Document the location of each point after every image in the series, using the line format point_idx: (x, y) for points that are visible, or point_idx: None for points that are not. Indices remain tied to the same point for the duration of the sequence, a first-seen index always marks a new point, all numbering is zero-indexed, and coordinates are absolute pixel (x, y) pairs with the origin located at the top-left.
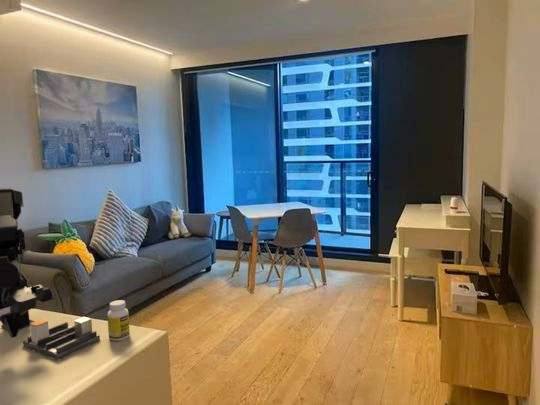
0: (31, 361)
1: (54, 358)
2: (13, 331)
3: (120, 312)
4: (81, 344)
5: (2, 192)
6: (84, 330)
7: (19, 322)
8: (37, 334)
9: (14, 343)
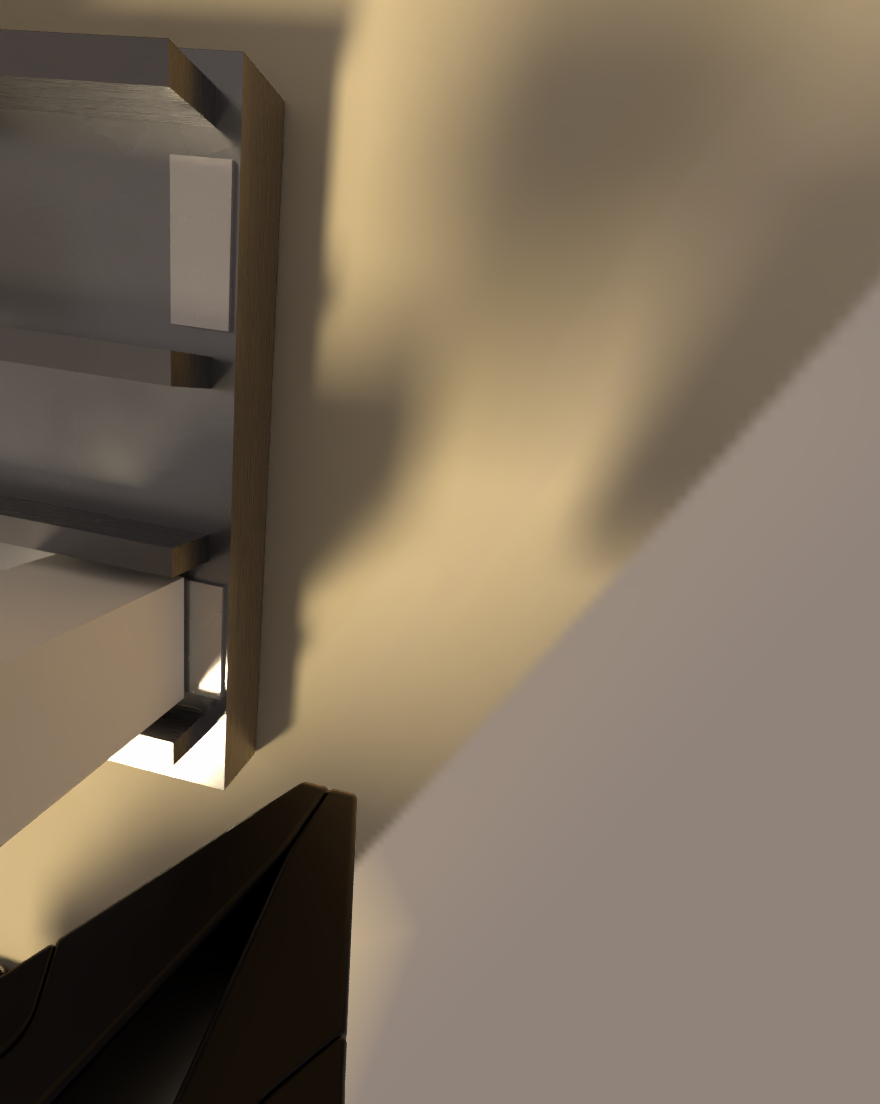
0: (417, 413)
1: (277, 179)
2: (309, 872)
3: None
4: None
5: None
6: None
7: (49, 984)
8: (90, 620)
9: None
